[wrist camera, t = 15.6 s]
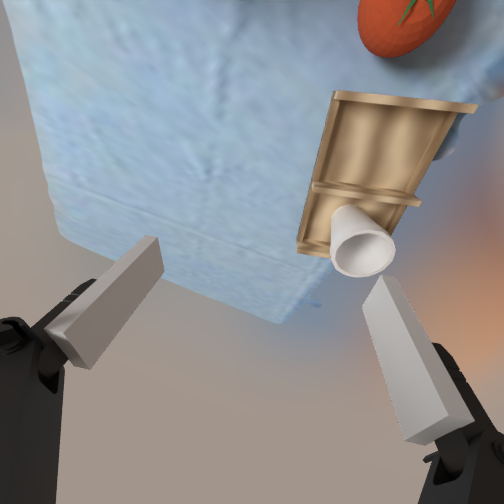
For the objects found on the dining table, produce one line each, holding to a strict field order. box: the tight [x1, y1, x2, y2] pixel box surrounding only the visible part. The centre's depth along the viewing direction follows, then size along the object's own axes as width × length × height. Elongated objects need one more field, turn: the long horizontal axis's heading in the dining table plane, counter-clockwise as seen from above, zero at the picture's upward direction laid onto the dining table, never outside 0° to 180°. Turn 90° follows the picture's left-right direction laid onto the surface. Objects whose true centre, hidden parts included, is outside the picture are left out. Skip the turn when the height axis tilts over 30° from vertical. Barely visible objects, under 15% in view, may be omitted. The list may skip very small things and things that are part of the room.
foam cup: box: [330, 204, 396, 278], centre depth 40 cm, size 10×9×13 cm
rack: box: [297, 90, 478, 258], centre depth 40 cm, size 18×28×6 cm, turn 175°
